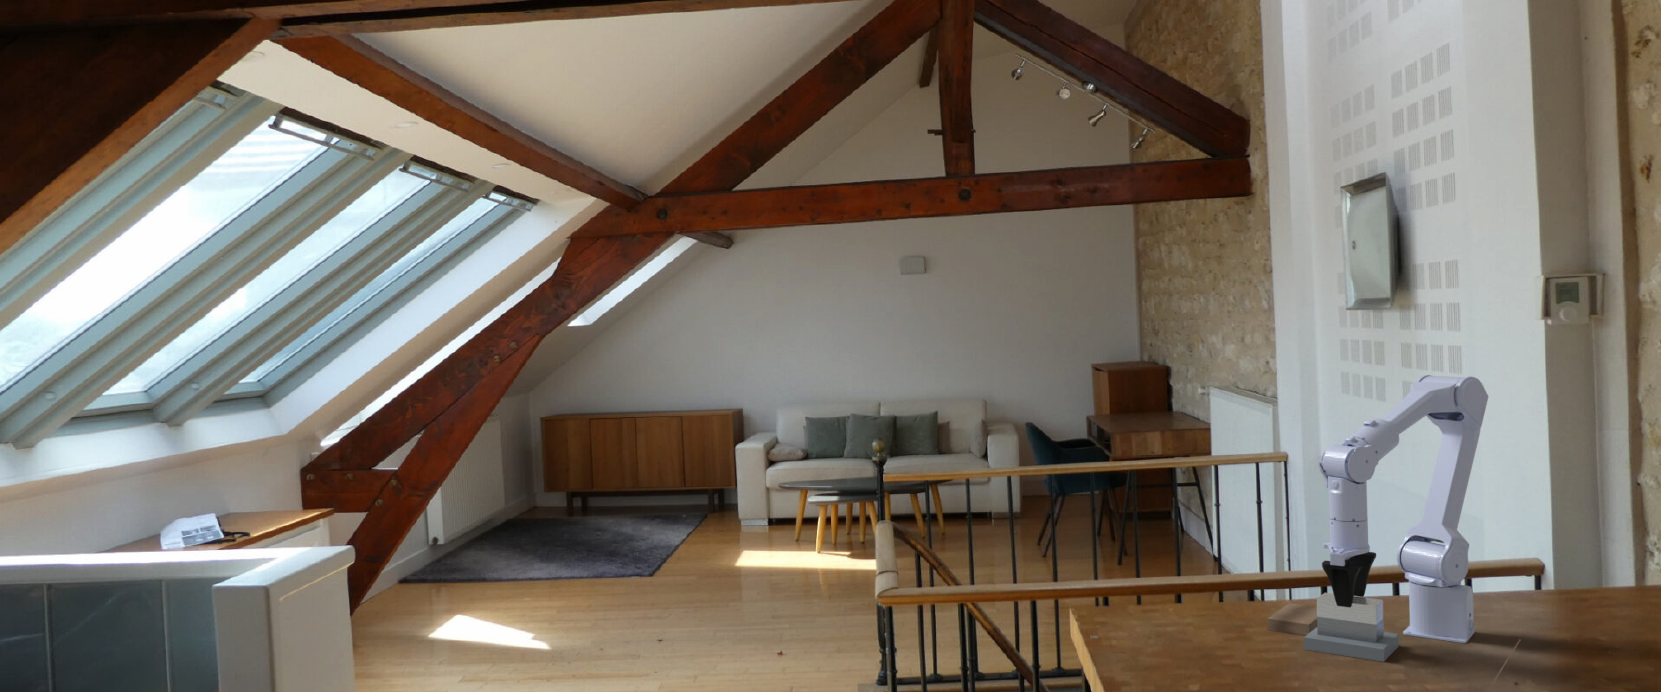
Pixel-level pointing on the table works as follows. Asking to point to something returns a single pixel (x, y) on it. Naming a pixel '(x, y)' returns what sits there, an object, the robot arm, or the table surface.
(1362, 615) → the block
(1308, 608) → the stand
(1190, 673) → the table surface
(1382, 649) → the stand
